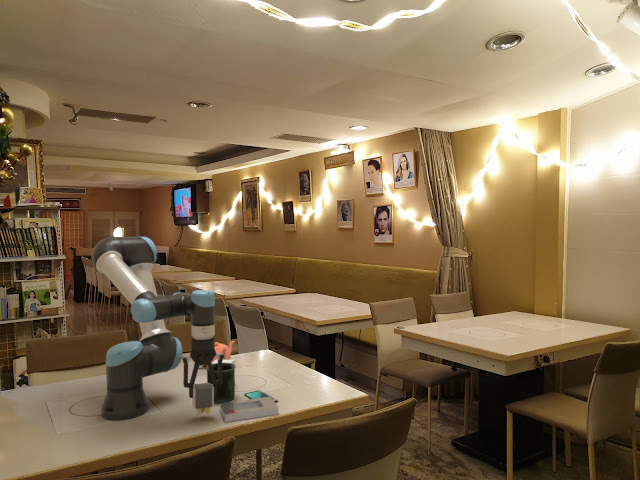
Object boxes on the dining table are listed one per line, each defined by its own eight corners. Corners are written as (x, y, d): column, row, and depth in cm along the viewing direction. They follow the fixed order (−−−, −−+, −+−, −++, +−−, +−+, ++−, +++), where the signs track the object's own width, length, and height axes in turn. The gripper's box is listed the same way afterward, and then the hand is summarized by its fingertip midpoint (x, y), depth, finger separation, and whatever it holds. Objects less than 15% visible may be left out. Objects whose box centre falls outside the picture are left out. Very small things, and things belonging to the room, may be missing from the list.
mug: (210, 406, 168) (209, 372, 168) (201, 393, 181) (201, 362, 181) (239, 401, 173) (239, 368, 173) (229, 389, 186) (228, 359, 186)
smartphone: (262, 405, 167) (243, 393, 180) (262, 407, 167) (243, 395, 180) (279, 401, 172) (259, 389, 184) (279, 403, 172) (259, 391, 184)
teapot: (235, 361, 225) (235, 339, 225) (227, 370, 211) (226, 346, 211) (206, 361, 226) (205, 338, 226) (195, 370, 212) (195, 346, 212)
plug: (195, 416, 154) (195, 389, 153) (194, 410, 159) (194, 384, 158) (212, 414, 155) (212, 387, 155) (210, 408, 160) (210, 382, 160)
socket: (225, 422, 154) (225, 413, 154) (220, 410, 164) (220, 402, 164) (278, 414, 160) (278, 405, 160) (270, 403, 170) (270, 395, 170)
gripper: (175, 341, 149) (175, 413, 150) (232, 337, 156) (232, 406, 157) (173, 336, 156) (173, 405, 157) (228, 332, 163) (228, 398, 164)
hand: (203, 405), depth 157 cm, fingers closed on plug, 5 cm apart
